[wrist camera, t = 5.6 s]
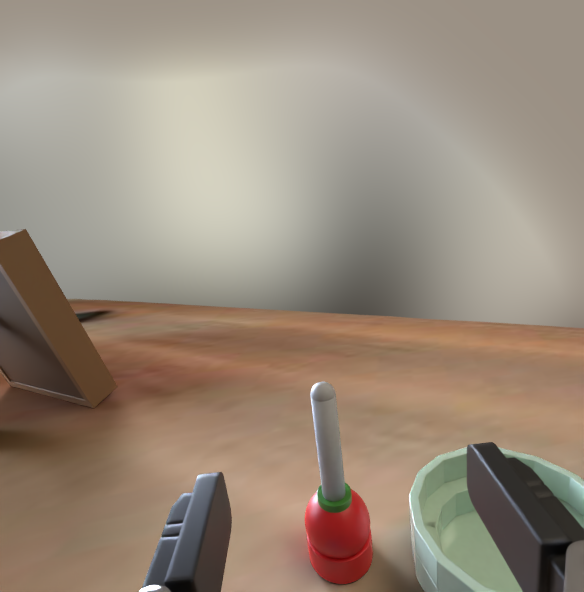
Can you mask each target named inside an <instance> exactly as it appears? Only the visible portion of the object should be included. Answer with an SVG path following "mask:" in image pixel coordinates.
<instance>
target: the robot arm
mask: <svg viewBox="0 0 584 592" xmlns="http://www.w3.org/2000/svg"><path fill="white" fill-rule="evenodd" d="M467 489H468V493H469V497H470V499H471V502H472V504H473V506H474V508H475V510H476V511H477V513H478V515H479V516H480V518H481V520H482V522H483V523H484V525H485V527H486V529H487V530H488V532H489V534H490V535H491V537H492V539H493V541H494V542H495V544H496V546H497V548H498V549H499V551H500V553H501V555H502V556H503V558H504V560H505V561H506V563H507V565H508V567H509V568H510V570H511V572H512V574H513V575H514V577H515V579H516V580H517V582H518V584H519V586H520V587H521V589H522V591H523V592H584V528H583V527H582V526H581V525H580V524H579V523H578V521H577V520H576V519H575V518H574V517H573V516H572V515H571V513H570V512H569V511H568V510H567V509H566V508H565V506H564V505H563V504H562V503H561V502H560V501H559V499H558V498H557V497H556V496H554V495H553V492H552V491H551V490H550V489H549V488H548V487H547V486H546V485H544V482H543V481H542V480H541V479H540V477H539V476H538V475H537V474H536V473H535V472H534V470H533V469H532V468H530V467H529V466H527V465H526V464H524V463H523V462H521V461H520V460H518V459H517V458H515V457H513V458H506V457H505V456H504V454H503V453H502V452H501V451H500V449H499V448H498V447H497V446H496V445H495V444H494V443H493V442H489V443H480V444H471V445H468V446H467ZM231 524H232V517H231V508H230V503H229V499H228V494H227V489H226V485H225V480H224V476H223V473H222V472H217V473H208V474H200V475H198V477H197V480H196V483H195V486H194V489H193V493H184V494H182V495H181V496H180V498H179V499H178V500H177V501H176V503H175V504H174V505H173V506H172V508H171V511H170V513H169V516H168V519H167V521H166V525H165V527H164V530H163V532H162V537H161V538H160V540H159V543H158V546H157V549H156V551H155V554H154V557H153V559H152V562H151V565H150V568H149V570H148V573H147V576H146V578H145V581H144V584H143V586H142V589H141V590H140V591H138V592H221V586H222V581H223V575H224V569H225V563H226V557H227V551H228V545H229V539H230V534H231Z"/></svg>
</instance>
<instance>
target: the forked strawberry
mask: <svg viewBox="0 0 584 592" xmlns="http://www.w3.org/2000/svg"><path fill="white" fill-rule="evenodd" d="M311 404H312V412H313V420H314V428H315V436H316V444H317V452H318V461H319V469H320V477H321V485H320V486H319V488H318V490H317V492H316V493H315V494H314V495H313V497H312V498H311V499H310V501H309V503H308V506H307V509H306V513H305V527H306V531H307V541H308V548H309V555H310V561H311V564H312V566H313V568H314V569H315V571H316V572H317V573H318V574H319V575H320V576H321V577H322V578H324V579H325V580H327V581H330V582H332V583H337V584H347V583H351V582H354V581H356V580H358V579H360V578H361V577H362V576H364V575H365V573H366V572H367V571H368V569H369V568H370V566H371V563H372V558H373V551H372V539H371V530H370V517H369V513H368V510H367V507H366V505H365V503H364V501H363V500H362V499H361V497H360V496H359V495H358V494H357V493H356V492H355V491H353V490H352V489H350V487H349V486H348V484H346V483H345V481H344V471H343V461H342V452H341V442H340V432H339V422H338V412H337V402H336V393H335V390H334V388H333V386H332V385H331V384H329V383H327V382H319V383H317V384H315V385H314V386H313V387H312V389H311Z"/></svg>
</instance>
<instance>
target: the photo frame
mask: <svg viewBox="0 0 584 592" xmlns="http://www.w3.org/2000/svg"><path fill="white" fill-rule="evenodd" d="M0 372H1V374H2V375H3V376H4V378H5V379H6V380H7V382H8V383H9V384H10V386H12V387H16V388H20V389H24V390H27V391H31V392H35V393H38V394H42V395H46V396H50V397H53V398H57V399H61V400H65V401H68V402H72V403H76V404H80V405H83V406H87V407H91V408H95V407H96V406H97V405H98V404H99V403H100V402H101V401H102V400H103V399H104V398H106V397H107V396H108V395H109V394H110V393H111V392H112V391H113V390H114V389H116V388H117V387H118V386H117V385H116V383H115V381H114V379H113V378H112V376H111V374H110V373H109V371H108V369H107V367H106V366H105V364H104V362H103V361H102V359H101V357H100V355H99V354H98V352H97V350H96V349H95V347H94V345H93V343H92V342H91V340H90V338H89V337H88V335H87V333H86V331H85V330H84V328H83V326H82V325H81V323H80V321H79V319H78V318H77V316H76V314H75V313H74V311H73V309H72V307H71V306H70V304H69V302H68V301H67V299H66V297H65V295H64V294H63V292H62V290H61V289H60V287H59V285H58V283H57V282H56V280H55V278H54V277H53V275H52V273H51V271H50V270H49V268H48V266H47V265H46V263H45V261H44V259H43V258H42V256H41V254H40V253H39V251H38V249H37V248H36V246H35V244H34V242H33V241H32V239H31V237H30V236H29V234H28V232H27V230H26V229H23V230H12V231H2V232H0Z"/></svg>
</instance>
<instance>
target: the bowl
mask: <svg viewBox="0 0 584 592" xmlns="http://www.w3.org/2000/svg"><path fill="white" fill-rule="evenodd" d="M499 449H500V451H501V452H502V453H503V454H504V456H505V457H506V458H513V457H515V458H517V459H518V460H520V461H521V462H523V463H524V464H526V465H527V466H529V467H530V468H532V469H533V470H534V472H535V473H536V474H537V475H538V476H539V477H540V479H541V480H542V481H543V482H544V485H546V486H547V487H548V488H549V489H550V490H551V491H552V492H553V495H554V496H556V497H557V498H558V499H559V501H560V502H561V503H562V504H563V505H564V506H565V508H566V509H567V510H568V511H569V512H570V513H571V515H572V516H573V517H574V518H575V519H576V520H577V521H578V523H579V524H580V525H581V526H582V527H583V528H584V480H583V479H582V478H580V477H579V476H578V475H576V474H574V473H572V472H570V471H568V470H566V469H563V468H561V467H559V466H557V465H555V464H552V463H550V462H548V461H546V460H544V459H541V458H539V457H536V456H533V455H529V454H524V453H520V452H515V451H511V450H507V449H502V448H499ZM409 504H410V526H411V546H412V552H413V559H414V566H415V572H416V577H417V580H418V582H419V583H420V585H421V587H422V589H423V590H424V592H523V591H522V589H521V587H520V586H519V584H518V582H517V580H516V579H515V577H514V575H513V574H512V572H511V570H510V568H509V567H508V565H507V563H506V561H505V560H504V558H503V556H502V555H501V553H500V551H499V549H498V548H497V546H496V544H495V542H494V541H493V539H492V537H491V535H490V534H489V532H488V530H487V529H486V527H485V525H484V523H483V522H482V520H481V518H480V516H479V515H478V513H477V511H476V510H475V508H474V506H473V504H472V502H471V499H470V497H469V493H468V489H467V448H463V449H460V450H456V451H453V452H449V453H446V454H442V455H439V456H437V457H436V458H435V459H433V460H432V461H431V462H430V463H429V464H427V465H426V466H425V467H424V468H422V469H421V470H420V471H419V472H418V474H417V476H416V479H415V482H414V484H413V487H412V489H411V492H410V495H409Z"/></svg>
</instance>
